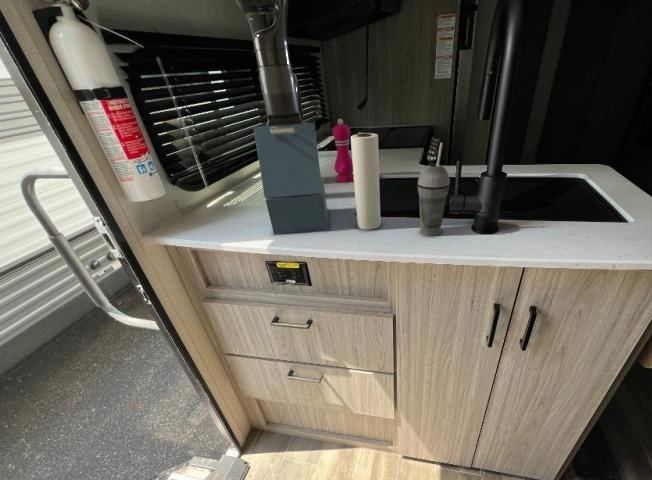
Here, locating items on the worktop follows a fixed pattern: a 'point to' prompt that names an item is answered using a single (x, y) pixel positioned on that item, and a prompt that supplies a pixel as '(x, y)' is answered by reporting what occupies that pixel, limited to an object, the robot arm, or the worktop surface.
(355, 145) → the paper towel roll
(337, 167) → the pepper mill
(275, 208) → the freezer
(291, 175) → the freezer lid
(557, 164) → the worktop surface
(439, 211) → the beverage cup
